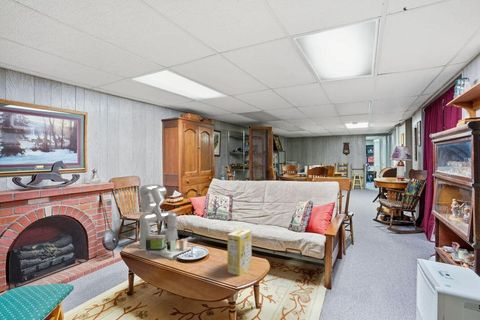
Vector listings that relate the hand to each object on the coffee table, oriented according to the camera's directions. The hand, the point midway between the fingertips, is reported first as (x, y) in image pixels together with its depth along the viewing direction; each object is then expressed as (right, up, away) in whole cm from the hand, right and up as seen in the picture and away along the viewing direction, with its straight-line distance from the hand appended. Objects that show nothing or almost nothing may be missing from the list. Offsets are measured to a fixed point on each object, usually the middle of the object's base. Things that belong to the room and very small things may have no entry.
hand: (171, 248), depth 199 cm
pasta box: (+59, -7, -23) cm, 64 cm away
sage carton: (0, -2, 0) cm, 2 cm away
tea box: (-16, -8, +9) cm, 20 cm away
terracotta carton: (+8, -5, +10) cm, 14 cm away
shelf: (+3, -7, +5) cm, 9 cm away
